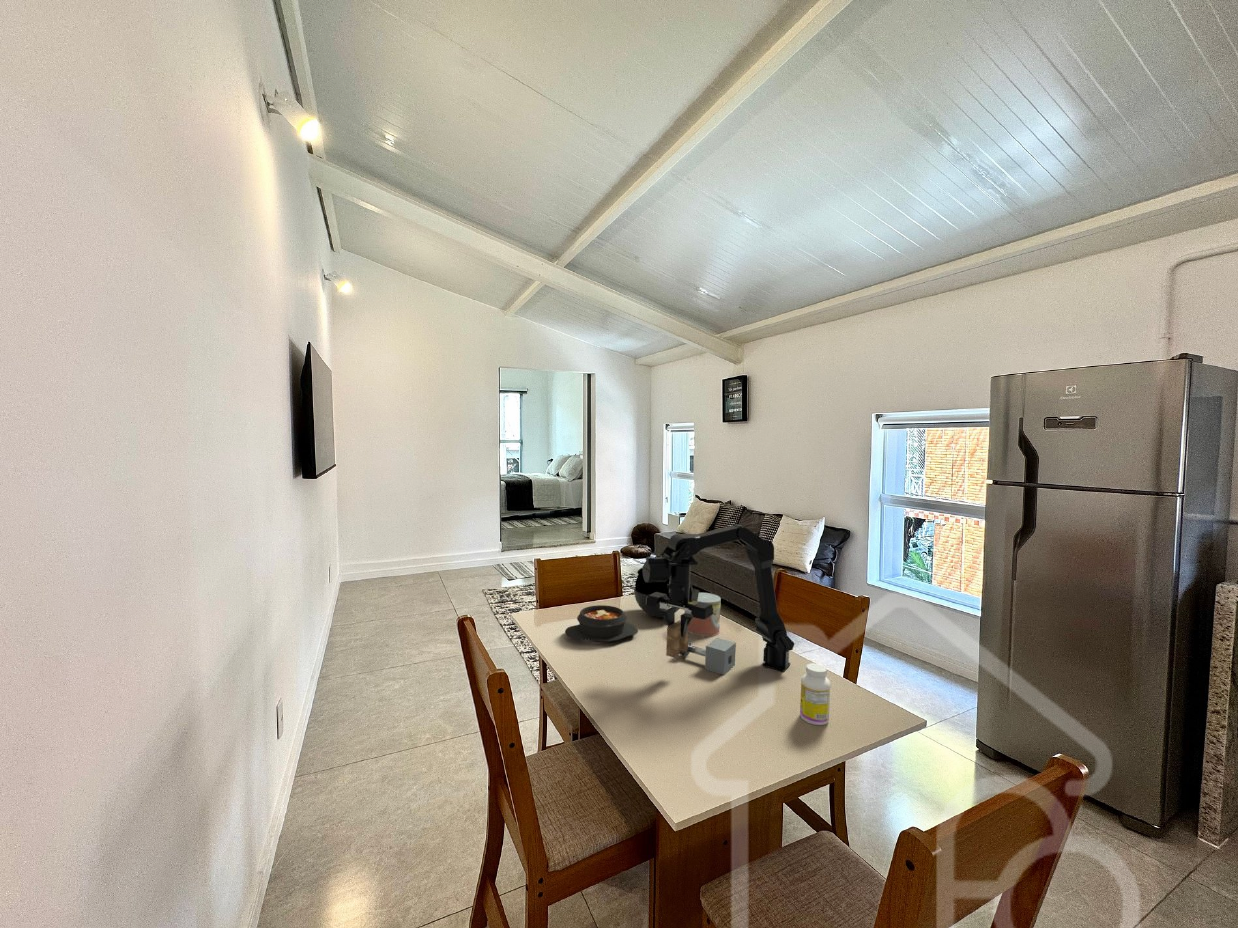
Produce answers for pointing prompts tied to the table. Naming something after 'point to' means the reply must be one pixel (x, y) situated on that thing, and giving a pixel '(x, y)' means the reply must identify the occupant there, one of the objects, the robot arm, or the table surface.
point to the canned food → (709, 624)
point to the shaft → (693, 650)
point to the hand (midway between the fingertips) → (677, 634)
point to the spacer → (676, 640)
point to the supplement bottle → (815, 695)
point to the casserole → (601, 625)
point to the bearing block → (720, 656)
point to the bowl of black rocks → (646, 589)
